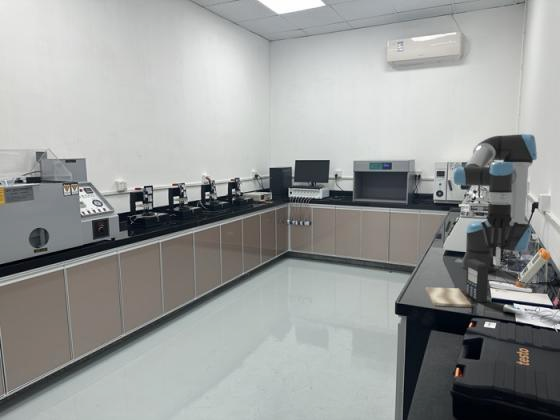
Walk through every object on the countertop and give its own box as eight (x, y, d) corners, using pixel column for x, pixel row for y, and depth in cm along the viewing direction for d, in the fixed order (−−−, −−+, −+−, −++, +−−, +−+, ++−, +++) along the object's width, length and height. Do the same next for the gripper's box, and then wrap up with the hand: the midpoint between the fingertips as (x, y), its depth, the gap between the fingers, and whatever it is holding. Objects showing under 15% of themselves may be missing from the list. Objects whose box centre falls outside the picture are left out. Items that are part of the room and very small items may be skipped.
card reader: (464, 295, 155) (465, 258, 153) (473, 294, 156) (474, 258, 154) (477, 303, 146) (479, 265, 144) (487, 302, 147) (489, 264, 145)
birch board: (458, 290, 161) (458, 288, 160) (471, 307, 143) (471, 304, 143) (425, 289, 163) (425, 287, 163) (434, 305, 145) (434, 303, 145)
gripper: (484, 204, 142) (481, 266, 145) (523, 204, 140) (519, 267, 143) (477, 202, 150) (475, 261, 152) (514, 202, 147) (511, 262, 150)
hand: (496, 264), depth 148 cm, fingers closed
